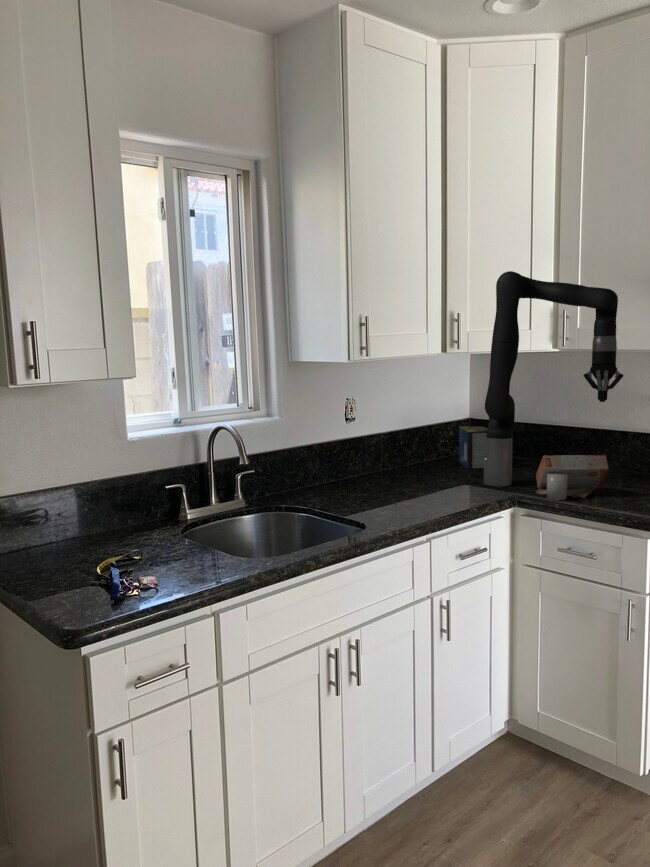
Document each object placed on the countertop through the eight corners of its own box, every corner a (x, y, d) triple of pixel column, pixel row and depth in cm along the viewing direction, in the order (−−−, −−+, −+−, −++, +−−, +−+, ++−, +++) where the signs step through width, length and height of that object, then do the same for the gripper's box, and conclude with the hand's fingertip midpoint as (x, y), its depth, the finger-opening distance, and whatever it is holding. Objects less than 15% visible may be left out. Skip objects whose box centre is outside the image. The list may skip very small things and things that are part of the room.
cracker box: (606, 453, 239) (542, 454, 241) (610, 469, 236) (545, 470, 238) (595, 473, 251) (534, 473, 253) (598, 488, 248) (537, 489, 250)
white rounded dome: (544, 499, 236) (544, 475, 235) (549, 495, 242) (550, 472, 241) (564, 501, 233) (564, 477, 232) (569, 497, 238) (569, 473, 237)
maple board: (535, 493, 245) (535, 491, 245) (549, 484, 260) (549, 481, 260) (584, 498, 236) (584, 496, 236) (596, 488, 252) (596, 486, 251)
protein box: (482, 462, 308) (483, 426, 305) (492, 468, 292) (493, 430, 290) (458, 462, 307) (458, 426, 305) (467, 469, 292) (467, 431, 290)
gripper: (581, 350, 240) (579, 402, 243) (623, 350, 233) (621, 403, 236) (586, 349, 247) (584, 400, 249) (627, 349, 240) (625, 401, 242)
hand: (602, 401), depth 242 cm, fingers closed
